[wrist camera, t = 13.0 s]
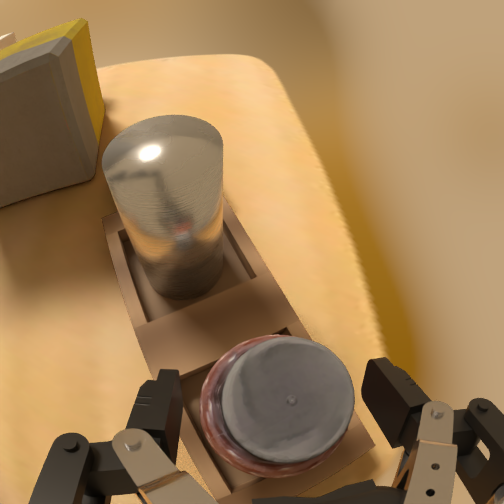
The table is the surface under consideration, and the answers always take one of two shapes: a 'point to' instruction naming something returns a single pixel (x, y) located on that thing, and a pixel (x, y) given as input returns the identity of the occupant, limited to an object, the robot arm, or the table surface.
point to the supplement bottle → (276, 405)
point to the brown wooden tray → (218, 350)
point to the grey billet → (171, 200)
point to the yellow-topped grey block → (48, 112)
